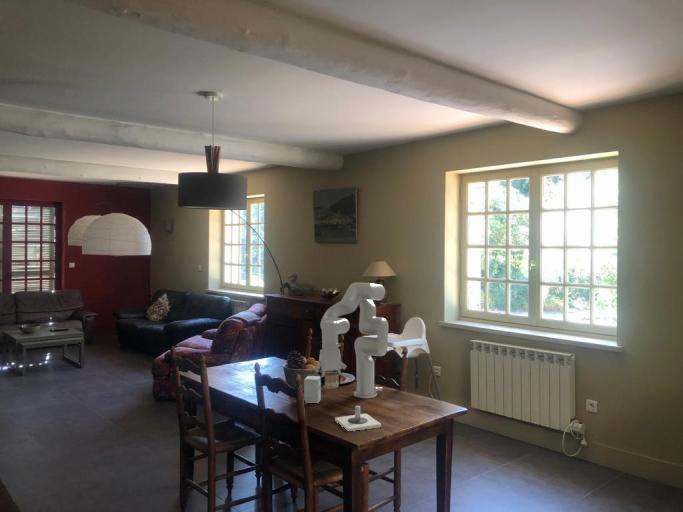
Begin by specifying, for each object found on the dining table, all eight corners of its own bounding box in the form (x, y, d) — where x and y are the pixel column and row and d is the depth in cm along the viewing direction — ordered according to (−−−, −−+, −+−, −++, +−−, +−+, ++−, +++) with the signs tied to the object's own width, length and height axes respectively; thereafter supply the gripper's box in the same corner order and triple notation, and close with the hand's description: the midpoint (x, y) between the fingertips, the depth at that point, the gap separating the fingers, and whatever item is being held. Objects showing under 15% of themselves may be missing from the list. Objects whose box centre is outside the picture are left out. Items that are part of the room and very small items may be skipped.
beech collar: (334, 383, 263) (334, 371, 262) (340, 387, 256) (340, 374, 256) (321, 385, 260) (321, 372, 260) (326, 389, 254) (326, 376, 253)
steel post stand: (366, 416, 258) (366, 399, 258) (381, 427, 244) (381, 409, 243) (334, 420, 252) (334, 403, 252) (348, 432, 238) (348, 414, 237)
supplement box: (317, 404, 278) (317, 379, 277) (303, 403, 279) (303, 379, 279) (321, 400, 285) (321, 376, 285) (307, 399, 287) (307, 375, 286)
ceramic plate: (315, 375, 338) (315, 370, 338) (356, 376, 335) (356, 371, 335) (308, 386, 313) (308, 381, 312) (352, 387, 310) (352, 382, 310)
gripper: (344, 343, 264) (344, 379, 265) (310, 346, 257) (310, 384, 258) (350, 346, 257) (350, 383, 258) (315, 350, 250) (315, 388, 251)
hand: (330, 383), depth 258 cm, fingers closed on beech collar, 7 cm apart
